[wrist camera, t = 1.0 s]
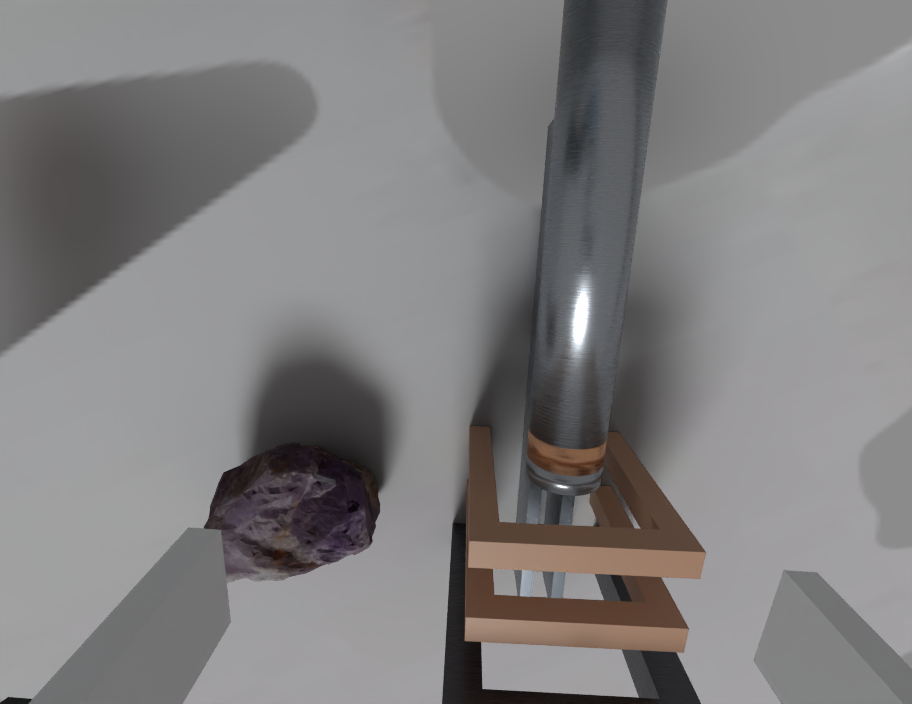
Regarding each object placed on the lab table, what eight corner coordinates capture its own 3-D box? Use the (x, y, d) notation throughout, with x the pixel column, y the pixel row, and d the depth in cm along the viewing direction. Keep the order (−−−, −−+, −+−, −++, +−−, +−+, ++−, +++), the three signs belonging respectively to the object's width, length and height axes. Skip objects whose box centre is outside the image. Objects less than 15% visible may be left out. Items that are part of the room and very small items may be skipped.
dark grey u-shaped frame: (452, 523, 35) (440, 738, 20) (617, 531, 35) (725, 755, 20) (451, 549, 36) (438, 777, 21) (613, 557, 36) (715, 793, 21)
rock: (389, 507, 37) (353, 397, 34) (387, 587, 28) (339, 450, 26) (247, 547, 36) (198, 438, 33) (204, 641, 28) (133, 507, 25)
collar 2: (467, 479, 34) (465, 617, 22) (611, 486, 34) (688, 628, 22) (466, 496, 35) (464, 641, 23) (608, 503, 34) (683, 652, 22)
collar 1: (469, 425, 33) (469, 540, 21) (619, 432, 33) (706, 552, 21) (468, 444, 33) (468, 567, 21) (616, 450, 33) (700, 579, 21)
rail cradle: (548, 126, 27) (562, 107, 23) (597, 127, 27) (621, 109, 23) (513, 560, 36) (519, 606, 32) (550, 562, 36) (561, 608, 32)
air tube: (556, 17, 22) (576, -32, 18) (646, 19, 22) (688, -30, 18) (521, 454, 29) (530, 493, 24) (590, 457, 28) (610, 497, 24)
